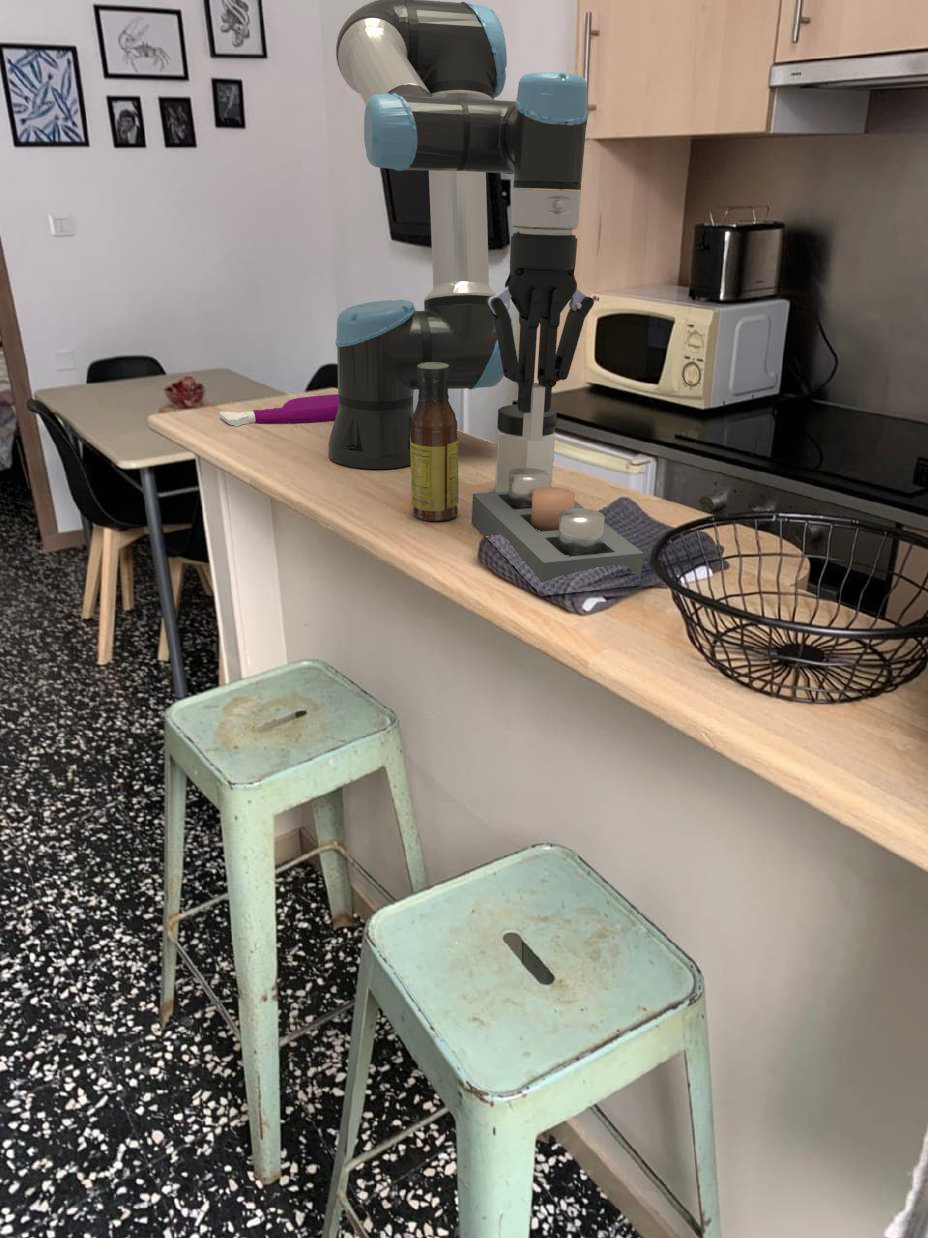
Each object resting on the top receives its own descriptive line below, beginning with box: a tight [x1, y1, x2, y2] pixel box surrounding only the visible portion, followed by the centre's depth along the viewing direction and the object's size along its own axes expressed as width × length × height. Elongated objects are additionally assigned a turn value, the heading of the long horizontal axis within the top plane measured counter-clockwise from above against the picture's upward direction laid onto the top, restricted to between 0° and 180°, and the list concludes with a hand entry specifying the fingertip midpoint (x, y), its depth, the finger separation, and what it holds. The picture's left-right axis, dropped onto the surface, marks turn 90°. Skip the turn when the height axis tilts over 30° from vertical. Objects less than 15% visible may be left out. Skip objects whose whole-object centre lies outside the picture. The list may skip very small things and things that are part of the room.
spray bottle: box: [218, 393, 338, 428], centre depth 170 cm, size 3×11×24 cm
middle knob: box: [531, 486, 576, 531], centre depth 112 cm, size 5×5×4 cm
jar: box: [494, 404, 558, 492], centre depth 132 cm, size 9×8×12 cm
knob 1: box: [508, 468, 549, 509], centre depth 118 cm, size 5×5×4 cm
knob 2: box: [557, 507, 606, 556], centre depth 105 cm, size 5×5×4 cm
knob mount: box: [471, 491, 644, 583], centre depth 113 cm, size 24×12×4 cm, turn 18°
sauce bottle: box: [410, 362, 459, 522], centre depth 120 cm, size 7×6×20 cm
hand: (532, 438), depth 115 cm, fingers closed
